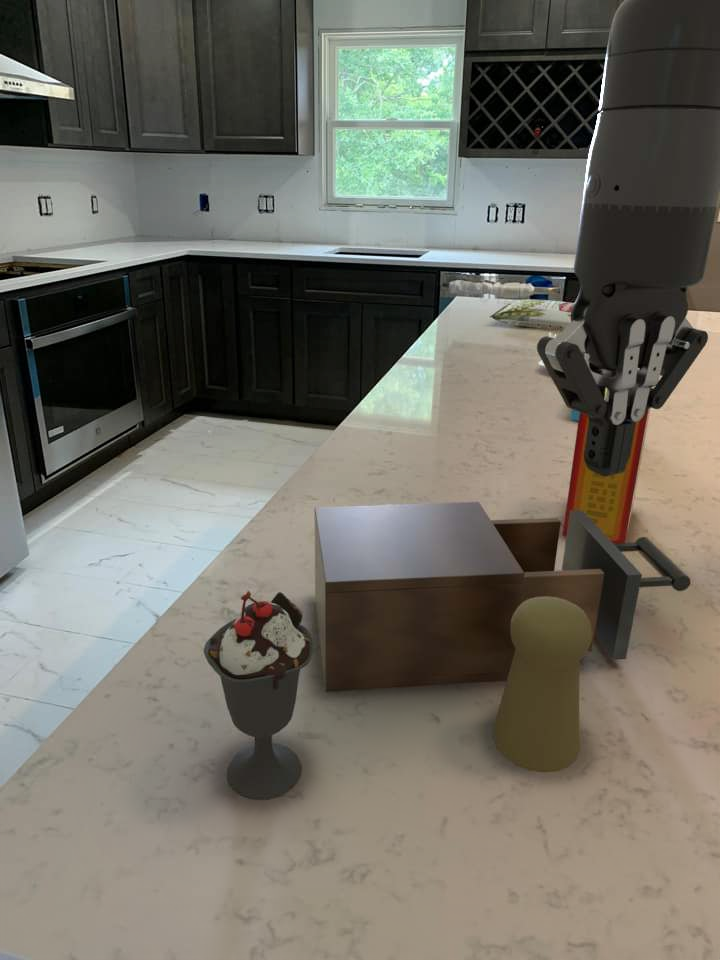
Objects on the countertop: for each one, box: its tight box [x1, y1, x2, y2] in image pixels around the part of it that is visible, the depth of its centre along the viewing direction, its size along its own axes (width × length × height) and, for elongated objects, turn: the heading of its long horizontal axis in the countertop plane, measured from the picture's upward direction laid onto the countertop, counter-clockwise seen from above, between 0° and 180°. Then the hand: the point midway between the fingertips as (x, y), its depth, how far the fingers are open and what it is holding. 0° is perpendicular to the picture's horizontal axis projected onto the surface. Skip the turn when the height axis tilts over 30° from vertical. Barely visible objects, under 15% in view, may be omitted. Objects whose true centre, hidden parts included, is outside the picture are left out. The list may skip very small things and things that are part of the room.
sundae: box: [203, 590, 314, 801], centre depth 46 cm, size 7×7×15 cm
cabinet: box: [314, 501, 525, 693], centre depth 61 cm, size 15×13×10 cm
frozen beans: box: [489, 298, 575, 331], centre depth 195 cm, size 21×6×25 cm
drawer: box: [490, 510, 691, 661], centre depth 62 cm, size 19×12×8 cm, turn 97°
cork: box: [492, 596, 592, 773], centre depth 50 cm, size 6×6×11 cm
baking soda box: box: [562, 386, 655, 543], centre depth 81 cm, size 10×6×16 cm
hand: (604, 470), depth 50 cm, fingers closed
